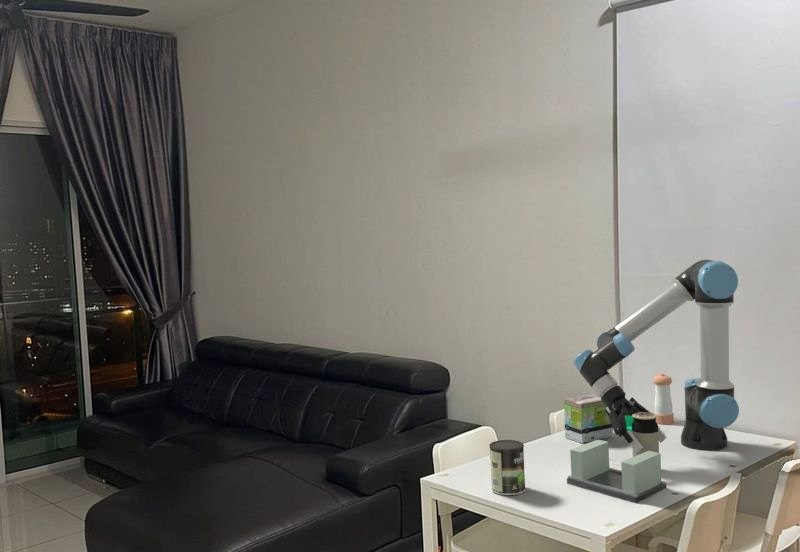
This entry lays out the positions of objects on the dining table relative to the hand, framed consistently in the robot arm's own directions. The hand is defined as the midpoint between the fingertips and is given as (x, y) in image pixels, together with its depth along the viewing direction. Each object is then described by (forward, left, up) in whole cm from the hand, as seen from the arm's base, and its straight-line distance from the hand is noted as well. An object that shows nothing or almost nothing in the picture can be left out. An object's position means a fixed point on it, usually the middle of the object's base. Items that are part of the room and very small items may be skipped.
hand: (652, 445), depth 231 cm
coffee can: (+47, +5, -9) cm, 48 cm away
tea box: (+6, -41, -9) cm, 43 cm away
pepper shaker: (-28, -53, -9) cm, 61 cm away
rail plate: (+15, +9, -9) cm, 20 cm away
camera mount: (-13, -44, -9) cm, 47 cm away
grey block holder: (+15, +9, -7) cm, 19 cm away
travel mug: (+1, -2, -9) cm, 9 cm away
